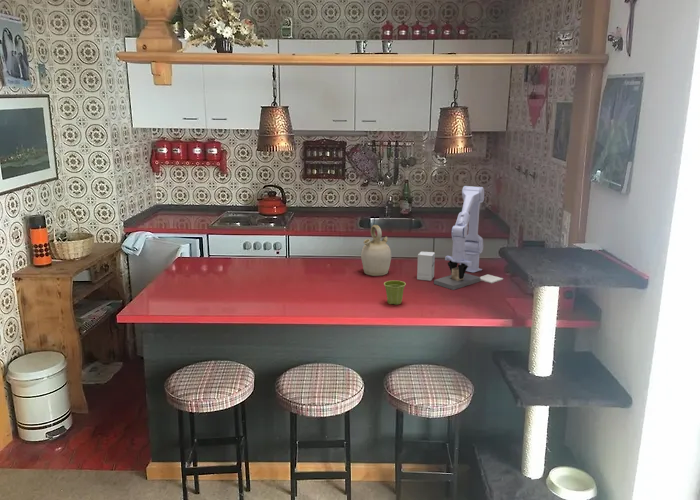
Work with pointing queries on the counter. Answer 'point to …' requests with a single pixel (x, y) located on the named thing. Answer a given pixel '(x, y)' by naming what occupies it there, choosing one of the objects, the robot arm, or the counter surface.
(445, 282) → the grey flat block
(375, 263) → the jug
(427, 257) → the supplement box
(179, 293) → the counter surface
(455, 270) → the plug
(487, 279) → the mat
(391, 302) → the plant pot
